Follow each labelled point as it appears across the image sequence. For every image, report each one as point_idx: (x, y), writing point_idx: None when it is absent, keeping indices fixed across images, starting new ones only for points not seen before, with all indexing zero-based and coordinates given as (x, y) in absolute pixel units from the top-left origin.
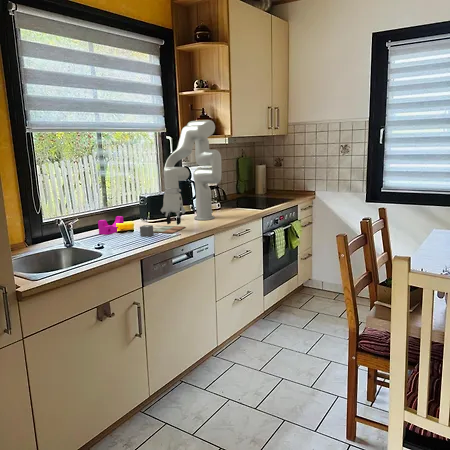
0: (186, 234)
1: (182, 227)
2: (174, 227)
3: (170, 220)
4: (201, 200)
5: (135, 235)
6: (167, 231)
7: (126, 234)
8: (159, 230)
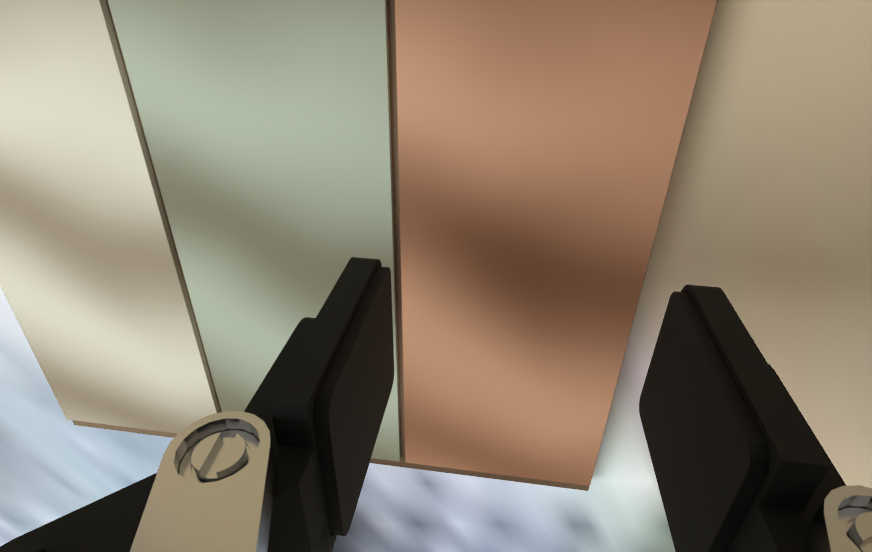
0: (852, 480)
1: (685, 23)
2: (443, 66)
3: (370, 322)
4: None
5: None
6: (472, 430)
7: (7, 488)
8: None
